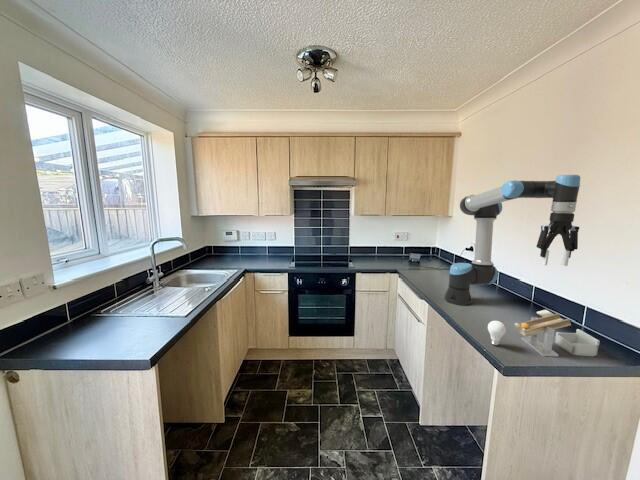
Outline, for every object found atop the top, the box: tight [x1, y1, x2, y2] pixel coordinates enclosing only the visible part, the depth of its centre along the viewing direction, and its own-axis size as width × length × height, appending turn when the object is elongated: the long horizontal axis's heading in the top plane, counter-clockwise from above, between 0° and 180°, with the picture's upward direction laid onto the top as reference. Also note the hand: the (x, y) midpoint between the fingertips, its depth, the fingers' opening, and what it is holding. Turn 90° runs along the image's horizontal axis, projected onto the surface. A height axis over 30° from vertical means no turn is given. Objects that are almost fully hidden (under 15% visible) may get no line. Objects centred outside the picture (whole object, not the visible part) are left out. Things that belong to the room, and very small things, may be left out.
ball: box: [521, 322, 530, 329], centre depth 112 cm, size 3×3×3 cm
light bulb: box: [487, 320, 507, 346], centre depth 114 cm, size 7×7×11 cm
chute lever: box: [514, 309, 572, 337], centre depth 115 cm, size 14×18×4 cm
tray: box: [553, 328, 600, 357], centre depth 112 cm, size 10×9×7 cm
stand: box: [520, 316, 559, 358], centre depth 112 cm, size 13×6×12 cm, turn 175°
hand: (553, 264), depth 114 cm, fingers open, 8 cm apart
